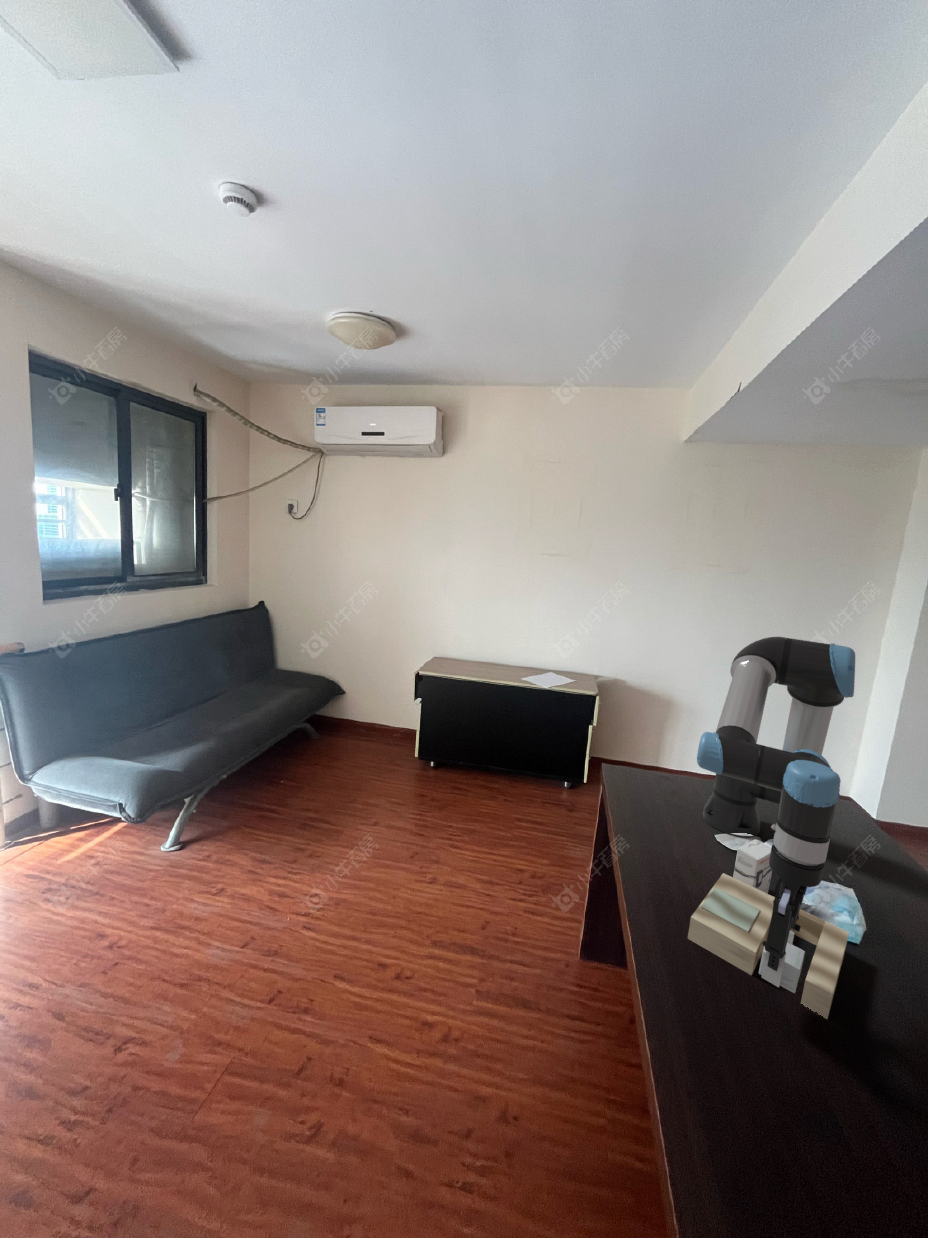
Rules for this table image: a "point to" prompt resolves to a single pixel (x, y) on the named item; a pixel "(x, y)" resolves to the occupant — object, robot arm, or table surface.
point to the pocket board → (741, 924)
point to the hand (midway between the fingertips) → (775, 970)
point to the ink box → (754, 865)
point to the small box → (789, 967)
